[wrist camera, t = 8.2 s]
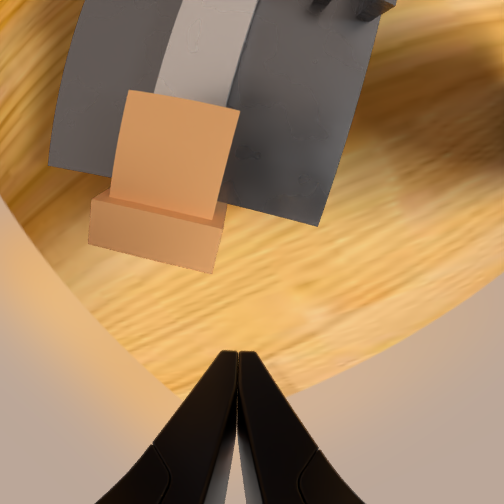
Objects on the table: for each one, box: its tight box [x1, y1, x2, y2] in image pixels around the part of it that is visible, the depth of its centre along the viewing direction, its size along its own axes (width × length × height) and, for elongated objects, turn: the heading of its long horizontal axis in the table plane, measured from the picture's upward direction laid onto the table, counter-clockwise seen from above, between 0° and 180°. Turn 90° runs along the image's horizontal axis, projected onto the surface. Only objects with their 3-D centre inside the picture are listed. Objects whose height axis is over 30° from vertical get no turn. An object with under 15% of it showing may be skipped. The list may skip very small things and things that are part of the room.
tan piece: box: [88, 90, 240, 274], centre depth 12 cm, size 4×5×7 cm
